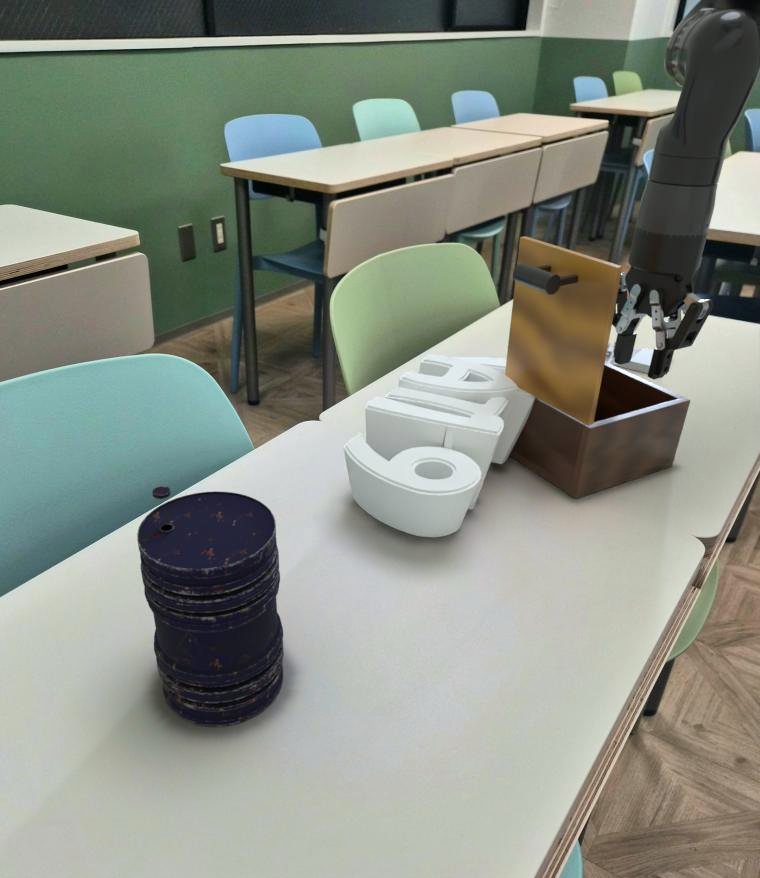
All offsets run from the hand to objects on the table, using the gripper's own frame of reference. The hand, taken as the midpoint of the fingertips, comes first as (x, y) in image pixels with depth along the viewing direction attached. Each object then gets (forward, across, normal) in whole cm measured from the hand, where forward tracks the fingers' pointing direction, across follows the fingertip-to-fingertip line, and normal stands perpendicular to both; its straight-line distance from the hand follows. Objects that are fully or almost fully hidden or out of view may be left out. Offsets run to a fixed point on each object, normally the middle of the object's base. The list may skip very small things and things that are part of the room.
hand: (638, 369), depth 89 cm
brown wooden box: (+11, 0, +7) cm, 12 cm away
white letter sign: (+10, +4, +25) cm, 27 cm away
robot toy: (+11, +22, -23) cm, 34 cm away
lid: (-7, 0, +14) cm, 16 cm away
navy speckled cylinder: (+11, -14, +60) cm, 62 cm away
